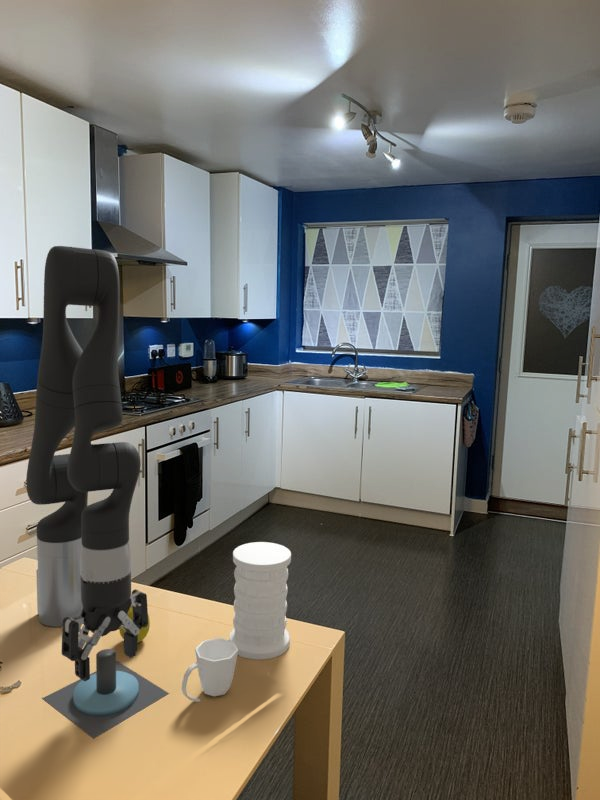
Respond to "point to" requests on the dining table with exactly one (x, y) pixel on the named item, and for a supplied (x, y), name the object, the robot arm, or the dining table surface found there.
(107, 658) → the lid
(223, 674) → the cup
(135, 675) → the mat
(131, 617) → the lemon
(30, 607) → the dining table surface
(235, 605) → the decorative container
